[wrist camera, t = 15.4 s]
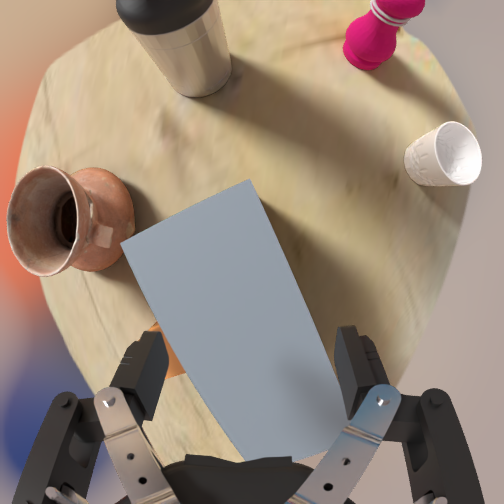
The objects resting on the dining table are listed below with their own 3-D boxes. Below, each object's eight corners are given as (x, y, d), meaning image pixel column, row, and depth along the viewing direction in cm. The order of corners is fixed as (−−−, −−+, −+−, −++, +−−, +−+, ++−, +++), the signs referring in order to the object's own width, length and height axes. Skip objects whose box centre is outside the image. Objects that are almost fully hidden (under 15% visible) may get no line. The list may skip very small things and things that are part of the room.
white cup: (443, 144, 37) (481, 131, 28) (442, 194, 38) (481, 191, 29) (400, 132, 38) (433, 113, 28) (398, 184, 39) (434, 177, 29)
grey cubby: (257, 380, 43) (254, 472, 24) (183, 229, 40) (120, 243, 21) (324, 353, 42) (359, 437, 23) (255, 195, 40) (249, 178, 20)
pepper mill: (389, 74, 36) (453, 6, 17) (345, 72, 37) (394, -8, 17) (376, 37, 36) (426, -38, 16) (334, 34, 36) (369, -51, 16)
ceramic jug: (161, 183, 40) (112, 168, 26) (137, 283, 41) (84, 310, 27) (65, 161, 40) (5, 146, 26) (47, 248, 42) (-14, 258, 28)
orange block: (177, 345, 43) (154, 382, 32) (162, 315, 42) (133, 345, 31) (207, 334, 42) (190, 371, 31) (191, 303, 42) (169, 332, 31)
